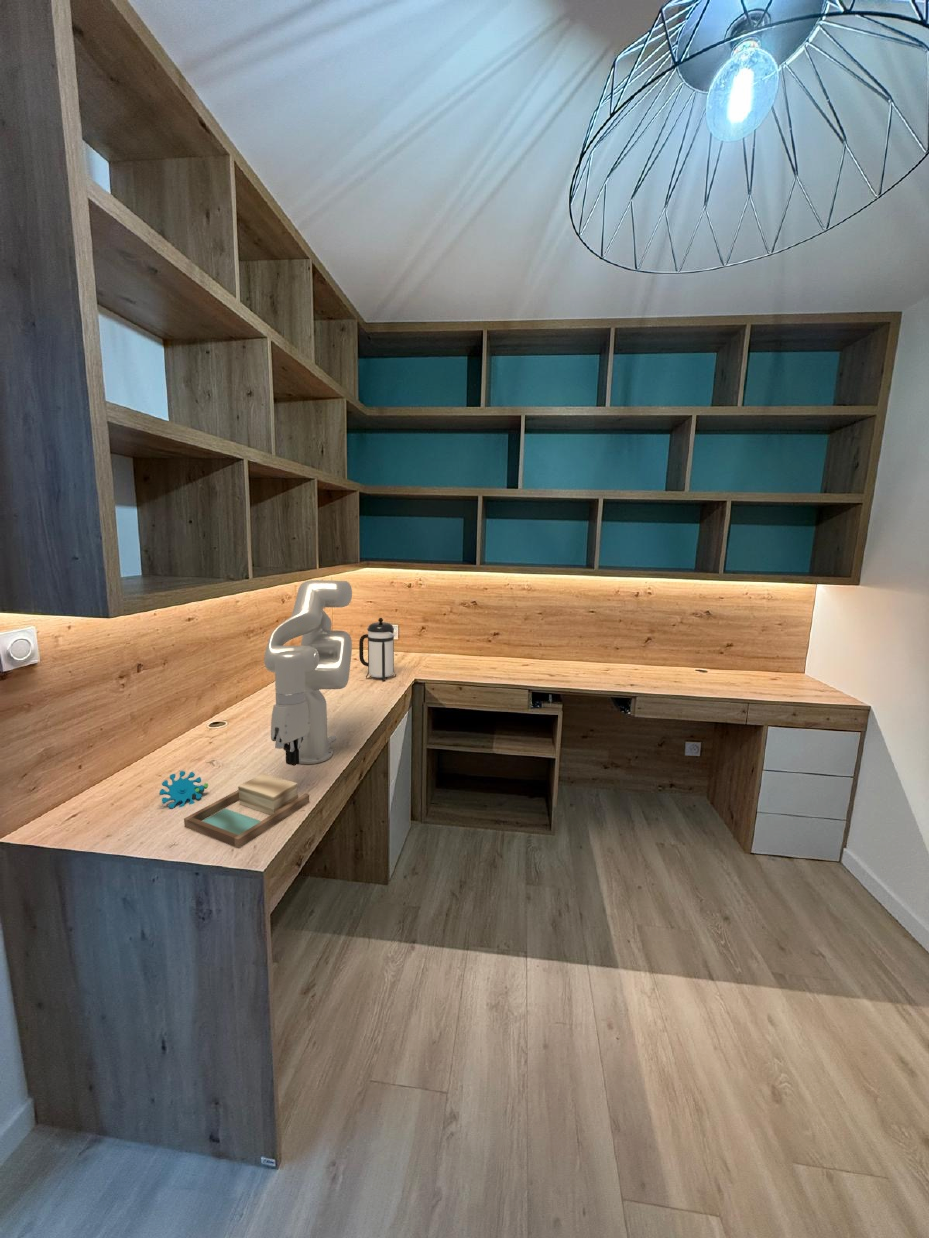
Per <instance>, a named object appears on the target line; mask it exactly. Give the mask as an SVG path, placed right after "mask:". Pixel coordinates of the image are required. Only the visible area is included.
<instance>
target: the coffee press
mask: <svg viewBox="0 0 929 1238" xmlns="http://www.w3.org/2000/svg"><path fill="white" fill-rule="evenodd" d="M377 621H378V622H372V623H370V624H369V625H368V628H366V629H367V633H368V634H367V633H366V634H363V635H361V636H360V638H359V641H358V642H359V644H358V647H359V649H358V650H359V651H358V654H359V660H360V663H361V664H362V665H363V666H365V667H367V668H368V669H367V670H368V671H367V674H366V676H365V678H366V680H369V679H370V678H376V679H379V678H380V679H381V682H386V678H389V677H391V676H392V678H396V677H397V674H396V673H395V661H394V660H395V651H394V650H395V646H394V639H395V638H394V636H395V634H396V633H395V628H394V626H393V625H392V623H390V622H385V621H384V618H382V617H379V618H378V620H377ZM365 639H367V661H366V660H365V658H364V640H365ZM394 674H395V675H394ZM368 676H369V677H368Z"/></svg>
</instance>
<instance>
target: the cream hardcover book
mask: <svg viewBox="0 0 929 1238" xmlns="http://www.w3.org/2000/svg"><path fill="white" fill-rule="evenodd" d="M298 787H299V786H298V783H297V782H295V781H291V780H288V779H284V778H281V777H278V776H274V775H271V774H268V773H265V772H263V773H261V774H258V775H257V776H255V777H253V778H251V779H249V780H247V781H245V782H243V783H241V784H239V785H238V786H237V790H239V800H238V801H239V802H238V803H239V805H241V806H243V807H246V808H250V809H252V810H254V811H255V810H256V811H257V812H258V811H259V812H261V813H264V814H267V815H269V816H270V815H272V814H274V813H275V812H277V811H278V810H280V809H282V808H283V807H285V806H286V805H288V804H290V803H291V802H293V801H294V800H296V799H298V798H299V794H298V793H299V792H298Z"/></svg>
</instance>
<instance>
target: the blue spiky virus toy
mask: <svg viewBox="0 0 929 1238" xmlns="http://www.w3.org/2000/svg"><path fill="white" fill-rule="evenodd" d="M176 775H177V774H176V773H172V774H169V779H170V780H171V785H170V784H169V781H168V780H167V779H164V781H163V782H162V783H161V786H163V787H165V788H167V789H168V791H166V790H165V789H164V788H161V789H160V791H159V796H164V795H167V796H170V797H162V798H161V803H162V804H167V802H170V801H174V802H171V803H169V804H168V808H169V809H174V808H175V806H176V805H177V804H179V803H180V802H181V804H179V805H178V808H179V809H180V808H183V807H185V803H186V802H187V801H188V800H189V802H188V805H194V804H195V803H196V802H195V801H194V800H193V795H194V796H195V798H196V800H197V801H198V800H200V799H201V798H202V796H203V795H202V794H203V793H204V792H205V790H207V789H208V787H209V783H208V782H206V783H204V784H200V783H201V782H202V777H200V776H198V777H196V778H195V779H191V778H194V777H195V776H196V773H195V772H193V771H191V772H189V774H188V776H187V777H185V778H182V777H184V776H185V775H186V771H185V770H180V771H179V777H178V778H177V780H175V778H176ZM190 779H191V780H190ZM194 783H197V784H200V785H196V784H194Z"/></svg>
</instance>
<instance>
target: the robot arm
mask: <svg viewBox="0 0 929 1238" xmlns="http://www.w3.org/2000/svg"><path fill="white" fill-rule="evenodd" d="M296 593H297V594H296V598H295V602H294V605H293V609H292V613H291V616H290V617H288V618H286V620H284V621H283V622H281V623H280V624H279V625H278V626H277V627H276V628H275V629H274V630H273V631H272V632H271V633H270V636H269V638H268V641H267V645H266V648H265V652H264V666H265V669H266V670H267V671H268V672H271V673H274V683H275V684H274V685H275V704H273V707H272V710H271V711H272V712H271V719H270V740H271V741H272V742H275V743H274V747H275V749H278V750H281V749H283V751H285V763H286V765H289V766H294V767H295V766H297V765H299V764H301V765H314V764H319V763H323V762H325V761H329V759H330V758H332V756H333V753H334V751H333V748H332V747H331V746H330V745H331V744H332V743H335V742H336V741H337V740H338V738H337V735H331V736H329V737H328V717H327V716H328V714H327V713H328V711H327V708H328V707H327V701H326V698H325V695H323V693H322V691H321V690H343V689H344V688H346V687H347V685H348V684H349V679H350V670H351V660H352V651H353V642H352V641H353V640H352V637H351V635H350V634H349V632H348V631H345V630H332V624H333V623H332V619H331V618H330V616H329V615H328V614H327V613H326V612H325V610H324V608H345V607H347V606H348V605H350V604H351V602H352V597H353V589H352V585H351V584H350V582H349V581H347V580H323V579H322V580H319V579H318V580H316V579H315V580H314V579H313V580H312V579H311V580H307V581H304V582H302V583H301V584H300V585H299V587H298V590H297V592H296ZM301 636H302V638H301V643H300V645H286V643H287V642H289V641H291V640H293V639H296V638H298V637H301Z"/></svg>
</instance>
